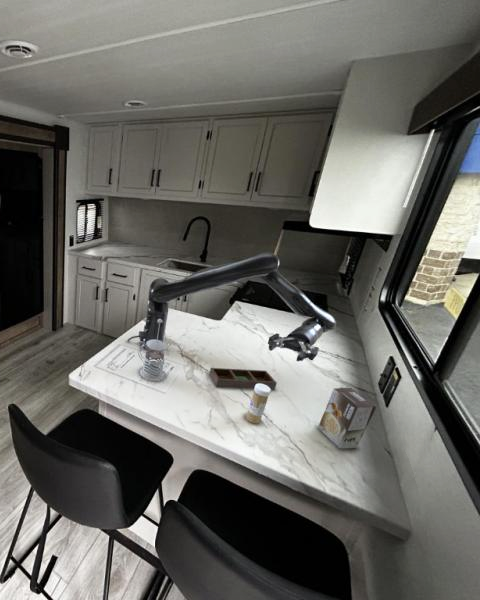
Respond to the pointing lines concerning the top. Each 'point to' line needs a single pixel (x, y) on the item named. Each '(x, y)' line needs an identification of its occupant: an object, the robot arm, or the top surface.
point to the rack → (241, 378)
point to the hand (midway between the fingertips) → (283, 353)
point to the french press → (155, 352)
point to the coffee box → (346, 417)
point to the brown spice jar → (258, 403)
